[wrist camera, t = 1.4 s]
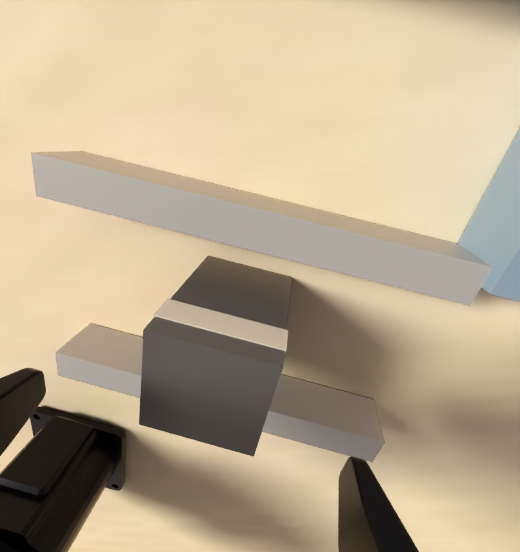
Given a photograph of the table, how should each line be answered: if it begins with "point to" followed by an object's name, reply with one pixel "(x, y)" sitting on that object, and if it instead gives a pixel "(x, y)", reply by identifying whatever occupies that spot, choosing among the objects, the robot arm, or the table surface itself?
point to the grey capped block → (216, 355)
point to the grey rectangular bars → (292, 246)
